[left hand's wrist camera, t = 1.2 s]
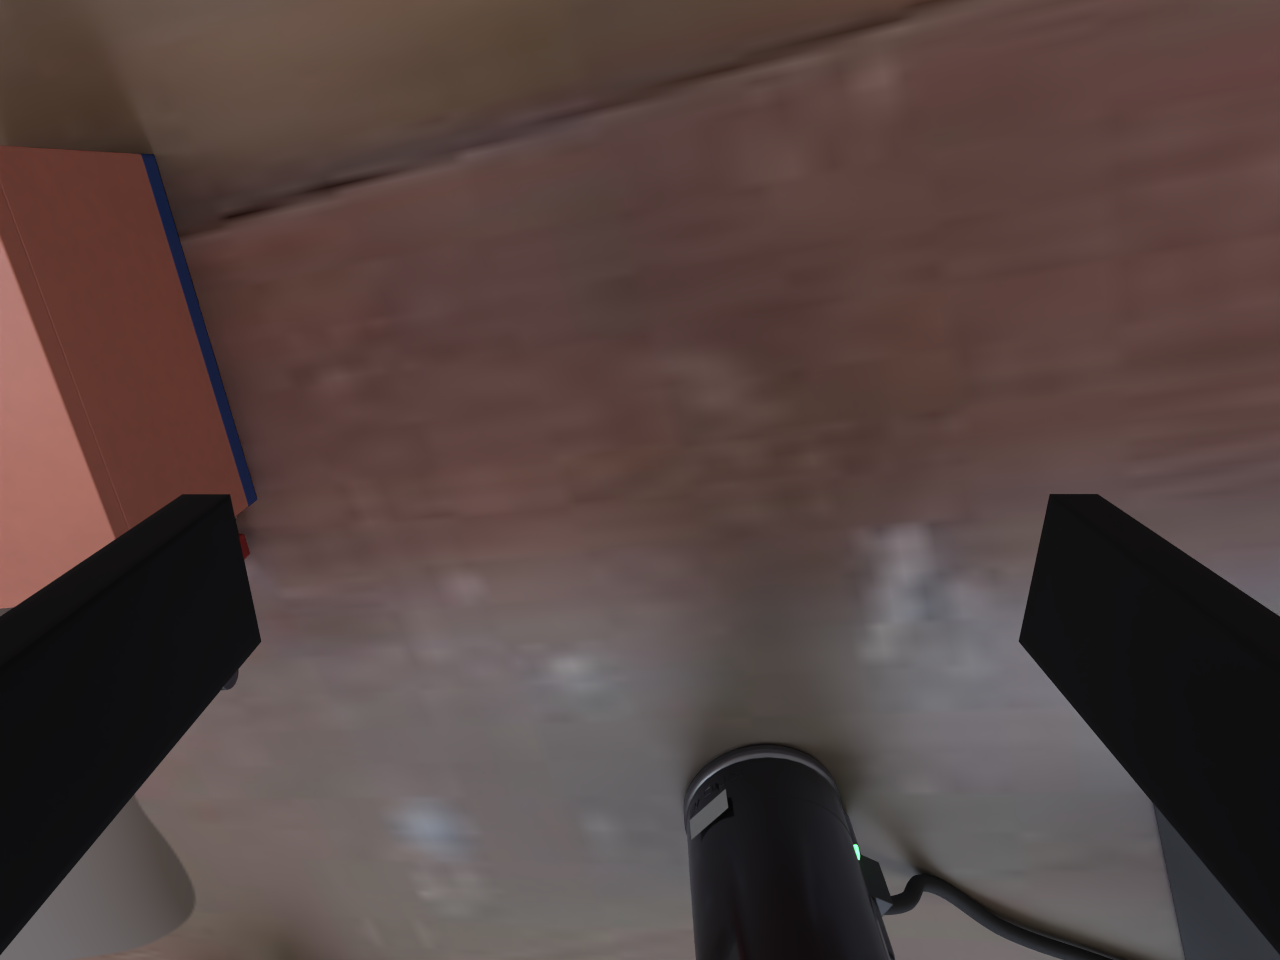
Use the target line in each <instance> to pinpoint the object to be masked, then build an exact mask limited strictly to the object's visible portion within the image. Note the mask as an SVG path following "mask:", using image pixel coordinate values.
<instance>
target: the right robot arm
mask: <svg viewBox="0 0 1280 960" xmlns="http://www.w3.org/2000/svg"><path fill="white" fill-rule="evenodd" d="M684 822H685V830H686V834H687V840H688V854H689V872H690V885H691V899H692V913H693V926H694V940H695V953H696V960H895V956H894V952H893V949H892V946H891V943H890V940H889V937H888V934H887V931H886V928H885V925H884V922H883V919H882V916H883V915H894V914H900V913H904V912H907V911H909V910H911V909H913V908H914V907H915V906H916V905H917V903H918V902H919V900H920V898H921V895H922V893H923V891H925V892H930V893H933V894H936V895H938V896H940V897H942V898H944V899H946V900H947V901H949V902H950V903H952V904H953V905H955V906H956V907H958V908H959V909H960V910H962V911H963V912H964V913H966V914H967V915H969V916H970V917H971V918H973V919H974V920H976V921H977V922H978V923H980V924H981V925H983V926H984V927H986V928H987V929H989V930H991V931H993V932H994V933H996V934H998V935H1000V936H1002V937H1004V938H1006V939H1008V940H1010V941H1013V942H1015V943H1018V944H1020V945H1022V946H1025V947H1028V948H1030V949H1033V950H1036V951H1038V952H1041V953H1044V954H1047V955H1050V956H1053V957H1056V958H1060V959H1063V960H1112V959H1109V958H1107V957H1104V956H1101V955H1098V954H1095V953H1092V952H1089V951H1086V950H1083V949H1080V948H1077V947H1074V946H1071V945H1068V944H1065V943H1062V942H1059V941H1056V940H1052V939H1049V938H1047V937H1044V936H1041V935H1038V934H1035V933H1033V932H1030V931H1027V930H1025V929H1022V928H1020V927H1018V926H1015V925H1013V924H1011V923H1008V922H1006V921H1004V920H1002V919H1000V918H999V917H997V916H995V915H994V914H992V913H990V912H989V911H987V910H986V909H984V908H983V907H981V906H980V905H979V904H977V903H976V902H974V901H973V900H972V899H970V898H969V897H968V896H966V895H965V894H964V893H962V892H961V891H959V890H958V889H956V888H955V887H953V886H952V885H950V884H948V883H947V882H945V881H943V880H941V879H939V878H937V877H934V876H931V875H924V874H922V875H915V876H913V877H912V878H911V879H910V880H909V882H908V883H907V885H906V887H905V890H904V892H902V893H900V894H898V895H894V896H890V893H889V891H888V888H887V885H886V882H885V879H884V876H883V874H882V871H881V868H880V865H879V863H878V862H876V861H874V860H872V859H870V858H867V857H865V856H863V855H861V853H860V850H859V847H858V843H857V840H856V837H855V834H854V831H853V828H852V825H851V822H850V819H849V816H848V815H847V814H846V813H845V812H843V806H842V801H841V798H840V795H839V792H838V789H837V786H836V783H835V781H834V779H833V777H832V776H831V774H830V773H829V772H828V770H827V769H826V768H825V767H824V766H823V765H822V764H820V763H819V762H818V761H817V760H815V759H814V758H812V757H811V756H809V755H807V754H805V753H803V752H800V751H798V750H795V749H791V748H787V747H782V746H774V745H758V746H750V747H744V748H740V749H737V750H734V751H731V752H728V753H726V754H724V755H722V756H720V757H718V758H716V759H715V760H713V761H712V762H710V763H709V764H708V765H706V766H705V767H704V768H703V769H702V770H701V771H700V772H699V773H698V774H697V775H696V777H695V778H694V779H693V781H692V782H691V784H690V786H689V788H688V790H687V793H686V796H685V801H684Z"/></svg>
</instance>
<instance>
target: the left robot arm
mask: <svg viewBox="0 0 1280 960" xmlns="http://www.w3.org/2000/svg"><path fill="white" fill-rule="evenodd" d="M260 642H261V638H260V633H259V629H258V624H257V619H256V614H255V610H254V605H253V600H252V595H251V591H250V586H249V581H248V576H247V572H246V567H245V562H244V557H243V553H242V548H241V543H240V538H239V534H238V529H237V524H236V520H235V515H234V510H233V505H232V501H231V496H230V494H182V495H180V496H179V497H177V498H176V499H174V500H173V501H171V502H170V503H169V504H167V505H166V506H164V507H163V508H161V509H160V510H158V511H157V512H155V513H154V514H152V515H151V516H149V517H148V518H146V519H145V520H143V521H142V522H140V523H139V524H137V525H136V526H134V527H133V528H131V529H130V530H128V531H127V532H125V533H124V534H122V535H121V536H119V537H118V538H116V539H115V540H113V541H112V542H111V543H109V544H108V545H106V546H105V547H103V548H102V549H100V550H99V551H97V552H96V553H94V554H93V555H91V556H90V557H88V558H87V559H85V560H84V561H82V562H81V563H79V564H78V565H76V566H75V567H73V568H72V569H70V570H69V571H67V572H66V573H64V574H63V575H61V576H60V577H58V578H57V579H55V580H54V581H52V582H51V583H50V584H48V585H47V586H45V587H44V588H42V589H41V590H39V591H38V592H36V593H35V594H33V595H32V596H30V597H29V598H27V599H26V600H24V601H23V602H21V603H20V604H18V605H17V606H15V607H14V608H12V609H11V610H9V611H8V612H6V613H5V614H3V615H2V616H0V955H1V954H2V952H3V951H4V950H5V949H6V948H7V946H8V945H9V944H10V943H11V941H12V940H13V939H14V938H15V937H16V935H17V934H18V933H19V932H20V931H21V930H22V928H23V927H24V926H25V925H26V923H27V922H28V921H29V920H30V919H31V917H32V916H33V915H34V914H35V913H36V911H37V910H38V909H39V908H40V907H41V905H42V904H43V903H44V902H45V901H46V899H47V898H48V897H49V896H50V895H51V893H52V892H53V891H54V890H55V889H56V887H57V886H58V885H59V884H60V883H61V881H62V880H63V879H64V878H65V877H66V875H67V874H68V873H69V872H70V871H71V869H72V868H73V867H74V866H75V865H76V863H77V862H78V861H79V860H80V859H81V857H82V856H83V855H84V854H85V853H86V851H87V850H88V849H89V848H90V847H91V845H92V844H93V843H94V842H95V841H96V839H97V838H98V837H99V836H100V835H101V833H102V832H103V831H104V830H105V829H106V827H107V826H108V825H109V824H110V823H111V821H112V820H113V819H114V818H115V817H116V815H117V814H118V813H119V812H120V811H121V809H122V808H123V807H124V806H125V805H126V803H127V802H128V801H129V800H130V799H131V797H132V796H133V795H134V794H135V793H136V791H137V790H138V789H139V788H140V787H141V785H142V784H143V783H144V782H145V781H146V779H147V778H148V777H149V776H150V775H151V773H152V772H153V771H154V770H155V769H156V767H157V766H158V765H159V764H160V763H161V761H162V760H163V759H164V758H165V757H166V755H167V754H168V753H169V752H170V751H171V749H172V748H173V747H174V746H175V745H176V743H177V742H178V741H179V740H180V738H181V737H182V736H183V735H184V734H185V732H186V731H187V730H188V729H189V728H190V726H191V725H192V724H193V723H194V722H195V720H196V719H197V718H198V717H199V716H200V714H201V713H202V712H203V711H204V710H205V708H206V707H207V706H208V705H209V704H210V702H211V701H212V700H213V699H214V698H215V696H216V695H217V694H218V693H219V692H220V690H221V689H222V688H223V687H224V686H225V684H226V683H227V682H228V681H229V680H230V678H231V677H232V676H233V675H234V674H235V672H236V671H237V670H238V669H239V668H240V666H241V665H242V664H243V663H244V662H245V660H246V659H247V658H248V657H249V656H250V654H251V653H252V652H253V651H254V650H255V648H256V647H257V646H258V645H259V644H260ZM1019 642H1020V644H1021V645H1022V646H1023V647H1024V648H1025V650H1026V651H1027V652H1028V653H1029V654H1030V656H1031V657H1032V658H1033V659H1034V660H1035V662H1036V663H1037V664H1038V665H1039V666H1040V668H1041V669H1042V670H1043V671H1044V672H1045V674H1046V675H1047V676H1048V677H1049V678H1050V680H1051V681H1052V682H1053V683H1054V684H1055V686H1056V687H1057V688H1058V689H1059V690H1060V692H1061V693H1062V694H1063V695H1064V696H1065V698H1066V699H1067V700H1068V701H1069V702H1070V704H1071V705H1072V706H1073V707H1074V708H1075V710H1076V711H1077V712H1078V713H1079V714H1080V716H1081V717H1082V718H1083V719H1084V720H1085V722H1086V723H1087V724H1088V725H1089V726H1090V728H1091V729H1092V730H1093V731H1094V732H1095V734H1096V735H1097V736H1098V737H1099V739H1100V740H1101V741H1102V742H1103V743H1104V745H1105V746H1106V747H1107V748H1108V749H1109V751H1110V752H1111V753H1112V754H1113V755H1114V757H1115V758H1116V759H1117V760H1118V761H1119V763H1120V764H1121V765H1122V766H1123V767H1124V769H1125V770H1126V771H1127V772H1128V773H1129V775H1130V776H1131V777H1132V778H1133V779H1134V781H1135V782H1136V783H1137V784H1138V785H1139V787H1140V788H1141V789H1142V790H1143V791H1144V793H1145V794H1146V795H1147V796H1148V797H1149V799H1150V800H1151V801H1152V802H1153V803H1154V805H1155V806H1156V807H1157V808H1158V809H1159V811H1160V812H1161V813H1162V814H1163V815H1164V817H1165V818H1166V819H1167V820H1168V821H1169V823H1170V824H1171V825H1172V826H1173V827H1174V829H1175V830H1176V831H1177V832H1178V833H1179V835H1180V836H1181V837H1182V838H1183V839H1184V841H1185V842H1186V843H1187V844H1188V845H1189V847H1190V848H1191V849H1192V850H1193V851H1194V853H1195V854H1196V855H1197V856H1198V857H1199V859H1200V860H1201V861H1202V862H1203V863H1204V865H1205V866H1206V867H1207V868H1208V869H1209V871H1210V872H1211V873H1212V874H1213V875H1214V877H1215V878H1216V879H1217V880H1218V881H1219V883H1220V884H1221V885H1222V886H1223V887H1224V889H1225V890H1226V891H1227V892H1228V893H1229V895H1230V896H1231V897H1232V898H1233V899H1234V901H1235V902H1236V903H1237V904H1238V905H1239V907H1240V908H1241V909H1242V910H1243V911H1244V913H1245V914H1246V915H1247V916H1248V918H1249V919H1250V920H1251V921H1252V922H1253V924H1254V925H1255V926H1256V927H1257V928H1258V930H1259V931H1260V932H1261V933H1262V934H1263V936H1264V937H1265V938H1266V939H1267V940H1268V942H1269V943H1270V944H1271V945H1272V946H1273V948H1274V949H1275V950H1276V951H1277V952H1278V954H1279V955H1280V616H1278V615H1277V614H1275V613H1274V612H1272V611H1271V610H1269V609H1268V608H1266V607H1265V606H1263V605H1262V604H1260V603H1259V602H1257V601H1256V600H1254V599H1253V598H1251V597H1250V596H1248V595H1247V594H1245V593H1244V592H1242V591H1241V590H1239V589H1238V588H1236V587H1235V586H1233V585H1232V584H1230V583H1229V582H1227V581H1226V580H1225V579H1223V578H1222V577H1220V576H1219V575H1217V574H1216V573H1214V572H1213V571H1211V570H1210V569H1208V568H1207V567H1205V566H1204V565H1202V564H1201V563H1199V562H1198V561H1196V560H1195V559H1193V558H1192V557H1190V556H1189V555H1187V554H1186V553H1184V552H1183V551H1181V550H1180V549H1178V548H1177V547H1175V546H1174V545H1172V544H1171V543H1169V542H1168V541H1167V540H1165V539H1164V538H1162V537H1161V536H1159V535H1158V534H1156V533H1155V532H1153V531H1152V530H1150V529H1149V528H1147V527H1146V526H1144V525H1143V524H1141V523H1140V522H1138V521H1137V520H1135V519H1134V518H1132V517H1131V516H1129V515H1128V514H1126V513H1125V512H1123V511H1122V510H1120V509H1119V508H1117V507H1116V506H1114V505H1113V504H1111V503H1110V502H1109V501H1107V500H1106V499H1104V498H1103V497H1101V496H1100V495H1098V494H1050V496H1049V501H1048V505H1047V510H1046V515H1045V520H1044V524H1043V529H1042V534H1041V538H1040V543H1039V548H1038V553H1037V557H1036V562H1035V567H1034V572H1033V576H1032V581H1031V586H1030V591H1029V595H1028V600H1027V605H1026V610H1025V614H1024V619H1023V624H1022V629H1021V633H1020V638H1019Z"/></svg>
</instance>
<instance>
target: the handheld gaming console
mask: <svg viewBox="0 0 1280 960" xmlns="http://www.w3.org/2000/svg"><path fill="white" fill-rule="evenodd" d="M1154 808H1155V813H1156V818H1157V823H1158V827H1159V832H1160V837H1161V842H1162V847H1163V852H1164V857H1165V862H1166V866H1167V871H1168V876H1169V881H1170V886H1171V891H1172V896H1173V901H1174V905H1175V910H1176V915H1177V920H1178V925H1179V930H1180V935H1181V940H1182V944H1183V949H1184V954H1185V959H1186V960H1280V955H1279V954H1278V952H1277V951H1276V950H1275V949H1274V948H1273V946H1272V945H1271V944H1270V943H1269V942H1268V940H1267V939H1266V938H1265V937H1264V936H1263V934H1262V933H1261V932H1260V931H1259V930H1258V928H1257V927H1256V926H1255V925H1254V924H1253V922H1252V921H1251V920H1250V919H1249V918H1248V916H1247V915H1246V914H1245V913H1244V911H1243V910H1242V909H1241V908H1240V907H1239V905H1238V904H1237V903H1236V902H1235V901H1234V899H1233V898H1232V897H1231V896H1230V895H1229V893H1228V892H1227V891H1226V890H1225V889H1224V887H1223V886H1222V885H1221V884H1220V883H1219V881H1218V880H1217V879H1216V878H1215V877H1214V875H1213V874H1212V873H1211V872H1210V871H1209V869H1208V868H1207V867H1206V866H1205V865H1204V863H1203V862H1202V861H1201V860H1200V859H1199V857H1198V856H1197V855H1196V854H1195V853H1194V851H1193V850H1192V849H1191V848H1190V847H1189V845H1188V844H1187V843H1186V842H1185V841H1184V839H1183V838H1182V837H1181V836H1180V835H1179V833H1178V832H1177V831H1176V830H1175V829H1174V827H1173V826H1172V825H1171V824H1170V823H1169V821H1168V820H1167V819H1166V818H1165V817H1164V815H1163V814H1162V813H1161V812H1160V811H1159V809H1158V808H1157V807H1156V806H1155V805H1154Z"/></svg>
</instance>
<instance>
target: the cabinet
mask: <svg viewBox="0 0 1280 960" xmlns="http://www.w3.org/2000/svg"><path fill="white" fill-rule="evenodd" d="M182 494H230V496H231V501H232V505H233V510H234V515H235V516H237V515H238V514H239V513H240V512H242V511H243V510H244V509H245V508H246V507H248V506H250V505H251V504H252V503H253V502H255V501H256V500H257V498H256V494H255V491H254V488H253V484H252V481H251V478H250V474H249V471H248V468H247V464H246V461H245V458H244V454H243V451H242V448H241V444H240V441H239V438H238V434H237V431H236V428H235V424H234V421H233V418H232V414H231V411H230V408H229V404H228V401H227V398H226V394H225V391H224V388H223V384H222V381H221V378H220V374H219V371H218V368H217V364H216V361H215V358H214V354H213V351H212V348H211V344H210V341H209V338H208V334H207V331H206V328H205V324H204V321H203V318H202V314H201V311H200V307H199V304H198V301H197V297H196V294H195V291H194V287H193V284H192V281H191V277H190V274H189V271H188V267H187V264H186V261H185V257H184V254H183V251H182V247H181V244H180V241H179V237H178V234H177V231H176V227H175V224H174V221H173V217H172V214H171V211H170V207H169V204H168V201H167V197H166V194H165V191H164V187H163V184H162V181H161V177H160V174H159V171H158V167H157V164H156V161H155V157H154V155H153V154H130V153H114V152H98V151H81V150H65V149H49V148H32V147H16V146H0V608H10V607H15V606H17V605H18V604H20V603H21V602H23V601H24V600H26V599H27V598H29V597H30V596H32V595H33V594H35V593H36V592H38V591H39V590H41V589H42V588H44V587H45V586H47V585H48V584H50V583H51V582H52V581H54V580H55V579H57V578H58V577H60V576H61V575H63V574H64V573H66V572H67V571H69V570H70V569H72V568H73V567H75V566H76V565H78V564H79V563H81V562H82V561H84V560H85V559H87V558H88V557H90V556H91V555H93V554H94V553H96V552H97V551H99V550H100V549H102V548H103V547H105V546H106V545H108V544H109V543H111V542H112V541H113V540H115V539H116V538H118V537H119V536H121V535H122V534H124V533H125V532H127V531H128V530H130V529H131V528H133V527H134V526H136V525H137V524H139V523H140V522H142V521H143V520H145V519H146V518H148V517H149V516H151V515H152V514H154V513H155V512H157V511H158V510H160V509H161V508H163V507H164V506H166V505H167V504H169V503H170V502H171V501H173V500H174V499H176V498H177V497H179V496H180V495H182Z"/></svg>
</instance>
